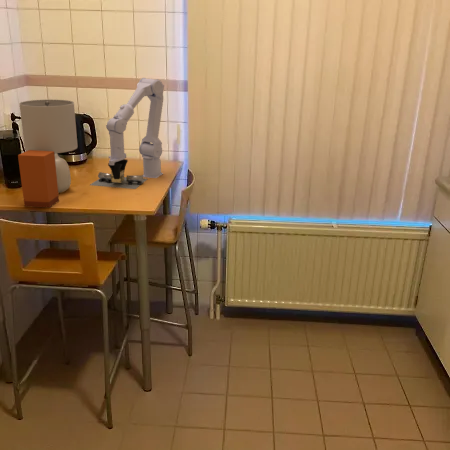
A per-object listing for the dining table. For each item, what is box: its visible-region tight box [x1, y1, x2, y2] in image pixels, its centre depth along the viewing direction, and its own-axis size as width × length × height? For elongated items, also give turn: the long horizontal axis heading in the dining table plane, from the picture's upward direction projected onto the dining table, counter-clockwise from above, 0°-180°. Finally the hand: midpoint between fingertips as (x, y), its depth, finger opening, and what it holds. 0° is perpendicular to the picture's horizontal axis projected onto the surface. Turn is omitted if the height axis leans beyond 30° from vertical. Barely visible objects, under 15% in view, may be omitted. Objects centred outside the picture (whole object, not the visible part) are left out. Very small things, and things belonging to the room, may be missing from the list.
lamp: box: [19, 99, 78, 194], centre depth 201 cm, size 20×20×37 cm
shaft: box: [97, 171, 112, 183], centre depth 220 cm, size 7×4×4 cm, turn 64°
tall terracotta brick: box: [17, 150, 60, 209], centre depth 189 cm, size 10×9×20 cm
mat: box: [89, 176, 148, 190], centre depth 220 cm, size 16×21×1 cm
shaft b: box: [125, 174, 144, 186], centre depth 218 cm, size 7×4×4 cm, turn 94°
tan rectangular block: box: [110, 170, 125, 183], centre depth 216 cm, size 4×4×5 cm
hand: (118, 177), depth 217 cm, fingers closed on tan rectangular block, 4 cm apart
